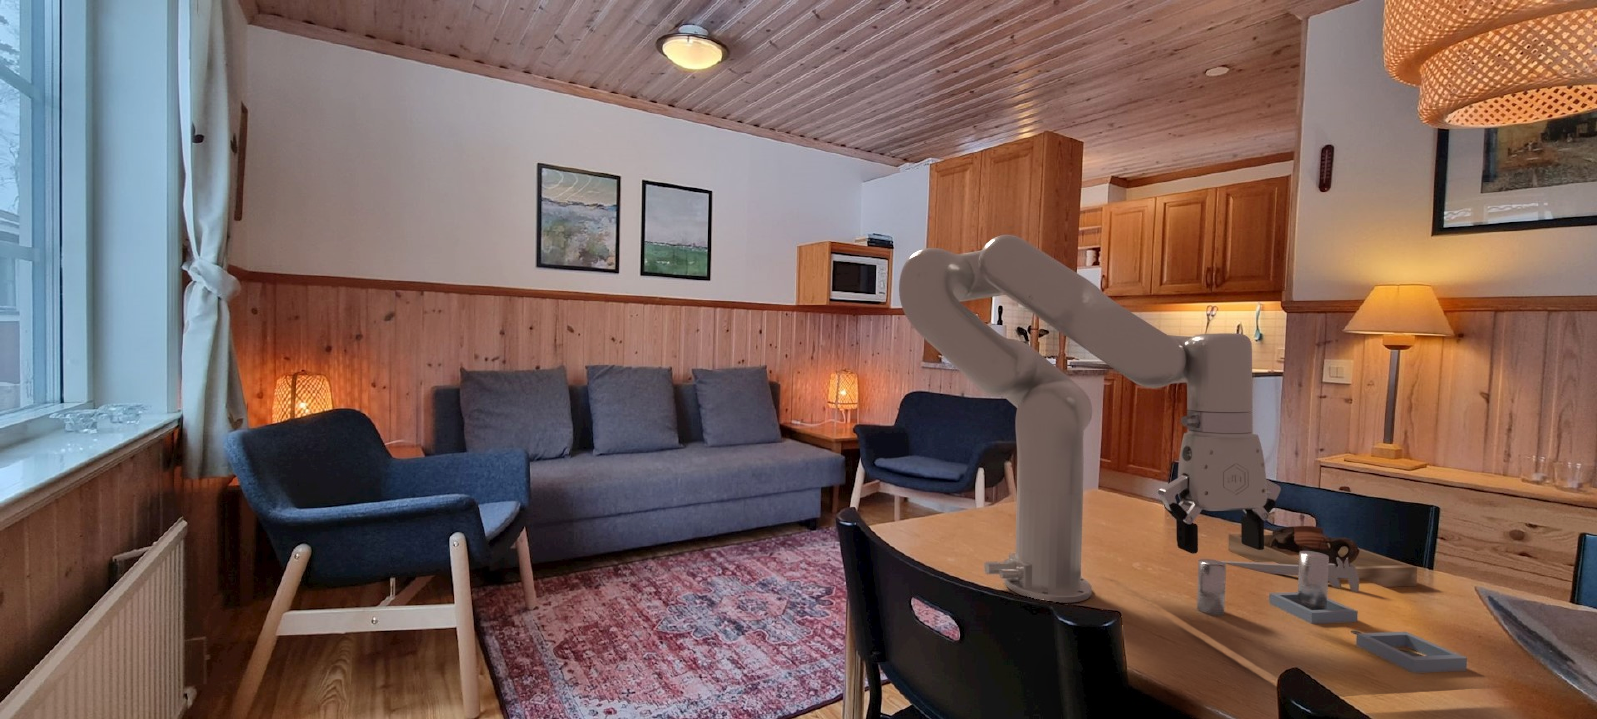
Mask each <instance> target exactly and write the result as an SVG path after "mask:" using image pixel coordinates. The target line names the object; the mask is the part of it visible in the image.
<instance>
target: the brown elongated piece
mask: <svg viewBox="0 0 1597 719" xmlns="http://www.w3.org/2000/svg"><path fill="white" fill-rule="evenodd" d="M1273 538H1274V536H1273V534H1272V532H1271V533H1265V532H1264V549H1263V550H1257V549H1254V548H1252V547H1249V546H1246V545H1244V544H1242V542H1241V533H1229V534H1228V545H1227V546H1228V549H1227V550H1228V551H1229V552H1232V553H1234V554H1236V555H1239V556H1241V557H1244V558H1245V559H1248V560H1250V561H1253V562H1254V563H1271V562H1272V563H1275V564H1291V565H1298V564H1299V558H1298V557H1295V556H1292V555H1290V554H1288V553H1285V552H1288V551H1289V550H1286V549H1278V548H1277V547H1274V546H1273V547H1270V544H1271V542H1272V540H1273ZM1327 544H1328V547H1329V548H1330V544H1329V543H1327ZM1357 548H1358V549H1359V554H1358V556H1357V558H1356V559H1355V560H1354V561H1353V562H1351V563H1350V565H1355V567H1356V571H1357V574H1358V577H1359V581H1361V580H1363V581H1366V582H1369V583H1372V584H1375V585H1378V586H1380V587H1383V588H1388V587H1415V586H1417V583H1418V582H1417V581H1418V567H1417V566H1414V565H1412V564H1408V563H1407V562H1406V563H1405V562H1402V561H1400V560H1396V559H1393V558H1390V557H1387V556H1384V555H1381V554H1378V553H1376V552H1372V551H1369V550H1367V549H1363V548H1361V547H1360V548H1359V547H1357ZM1282 551H1283V552H1282ZM1289 552H1290V551H1289ZM1347 552H1348V548H1347V547H1345V546H1343V547H1341V548H1340V550H1339V551H1338V554H1339V556H1340V557H1343V556H1345V555H1346V554H1347ZM1339 580H1340V581H1348V579H1347V578H1339Z"/></svg>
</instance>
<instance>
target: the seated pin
mask: <svg viewBox="0 0 1597 719" xmlns="http://www.w3.org/2000/svg"><path fill="white" fill-rule="evenodd" d="M1298 554H1299V555H1298V557H1299V558H1298V559H1299V575H1297V576H1298V578H1297V579H1298V582H1297V592H1298V601H1297V604H1300V605H1302V606H1304V607H1306V608H1308V609H1310V610H1327V598H1328V592H1329V590H1328V588H1329V581H1328V567H1329V556H1327V555H1325V554H1322V553H1318V552H1313V551H1300V552H1299V553H1298Z"/></svg>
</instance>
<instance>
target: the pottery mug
mask: <svg viewBox="0 0 1597 719" xmlns="http://www.w3.org/2000/svg"><path fill="white" fill-rule="evenodd" d="M1271 533H1272V534H1273V536H1274V538H1273V540H1272V542H1271V544H1270V547H1273V546H1274V547H1277V548H1278V549H1286V550H1289V552H1293V553H1296V554H1299V552H1300V551H1313V552H1318V553H1322V554H1325V555H1327V556H1329V563H1330V564H1335V565H1336V567H1338V564H1337V560H1336V558H1337V557H1338V558H1339V559H1340V560H1341V561H1342V562H1343V564H1344V563H1345V560H1346V558H1348V560H1349V563H1351V562H1353V561H1354V560H1355V559H1356V558H1357V556H1358V554H1359V549H1358V548H1359V547H1358V546H1357V544H1356V542H1355V541H1354V540H1352V539H1350V538H1347V537H1342V536H1341V537H1328V536H1327V535H1325V534H1324V533H1325V532H1324V529H1323V528H1321V527H1319V526H1313V525H1297V526H1296V525H1293V526H1285V527H1280V528H1276V529H1274V530H1272V532H1271ZM1327 543H1329V544H1330V548H1329V547H1328V544H1327ZM1343 546H1345V547H1347V548H1348V552H1347V554H1346V555H1345V556H1343V557H1340V556H1339V554H1338V551H1339V550H1340V548H1341V547H1343Z"/></svg>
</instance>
